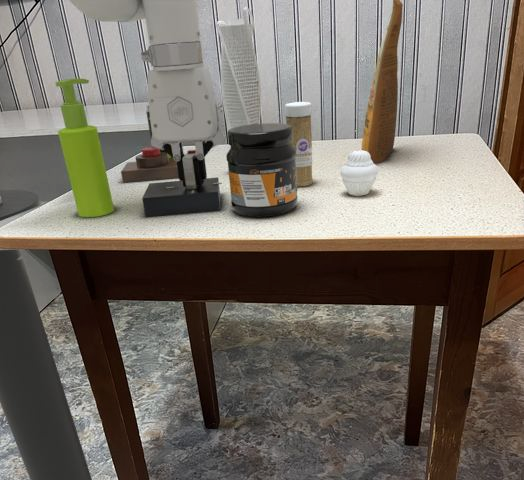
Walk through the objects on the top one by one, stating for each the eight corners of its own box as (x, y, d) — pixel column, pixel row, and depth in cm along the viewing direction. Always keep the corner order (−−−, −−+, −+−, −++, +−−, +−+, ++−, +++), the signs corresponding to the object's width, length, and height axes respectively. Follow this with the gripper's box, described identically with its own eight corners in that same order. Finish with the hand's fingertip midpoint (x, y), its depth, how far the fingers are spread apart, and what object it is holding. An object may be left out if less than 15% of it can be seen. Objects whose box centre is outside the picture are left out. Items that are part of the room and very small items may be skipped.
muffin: (332, 195, 89) (332, 151, 85) (352, 186, 93) (353, 144, 89) (365, 200, 85) (366, 154, 82) (384, 190, 89) (386, 146, 86)
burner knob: (196, 189, 86) (191, 155, 84) (186, 190, 86) (181, 156, 84) (201, 181, 91) (197, 149, 88) (192, 182, 91) (187, 150, 88)
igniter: (123, 182, 108) (118, 162, 106) (129, 172, 116) (125, 153, 114) (182, 177, 108) (179, 156, 106) (184, 168, 116) (182, 148, 114)
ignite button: (142, 159, 109) (140, 150, 108) (144, 156, 112) (142, 147, 111) (160, 158, 109) (158, 149, 108) (161, 154, 112) (160, 146, 111)
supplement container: (250, 223, 79) (243, 137, 73) (220, 208, 87) (212, 129, 81) (311, 209, 83) (309, 126, 77) (276, 196, 91) (272, 120, 85)
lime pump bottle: (124, 206, 92) (98, 76, 82) (99, 218, 87) (67, 80, 77) (97, 204, 94) (69, 77, 84) (71, 216, 89) (36, 82, 79)
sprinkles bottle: (296, 188, 94) (293, 105, 88) (283, 184, 98) (279, 103, 91) (318, 183, 96) (316, 102, 89) (304, 179, 100) (301, 100, 93)
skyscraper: (274, 172, 106) (264, 5, 92) (242, 179, 103) (227, 7, 89) (254, 166, 112) (242, 9, 98) (222, 173, 109) (205, 11, 95)
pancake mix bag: (404, 147, 119) (414, -3, 105) (388, 166, 104) (397, -6, 90) (374, 147, 122) (379, 0, 107) (354, 165, 107) (357, -2, 92)
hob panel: (145, 217, 86) (141, 197, 84) (152, 200, 94) (149, 182, 93) (223, 210, 86) (221, 190, 84) (223, 194, 95) (221, 176, 93)
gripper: (118, 63, 77) (141, 192, 86) (226, 54, 75) (238, 187, 84) (132, 60, 83) (152, 181, 92) (232, 52, 82) (243, 176, 91)
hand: (193, 183), depth 88 cm, fingers closed on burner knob
